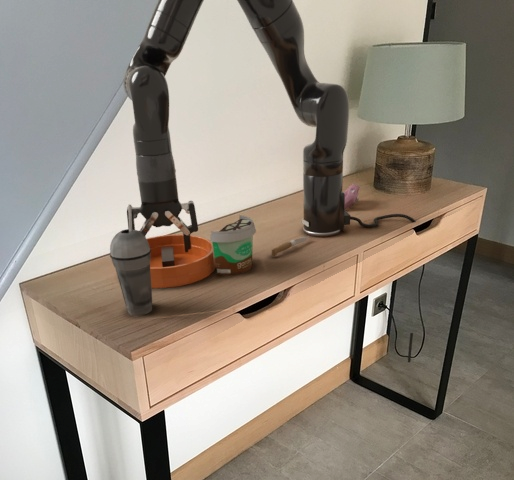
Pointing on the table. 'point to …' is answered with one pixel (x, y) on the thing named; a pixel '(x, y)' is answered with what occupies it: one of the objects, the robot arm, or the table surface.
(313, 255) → the table surface
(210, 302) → the table surface
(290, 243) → the folding knife
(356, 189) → the pink toy figure
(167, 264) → the dark brown wooden block
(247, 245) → the food container
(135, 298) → the beverage cup
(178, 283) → the bowl
